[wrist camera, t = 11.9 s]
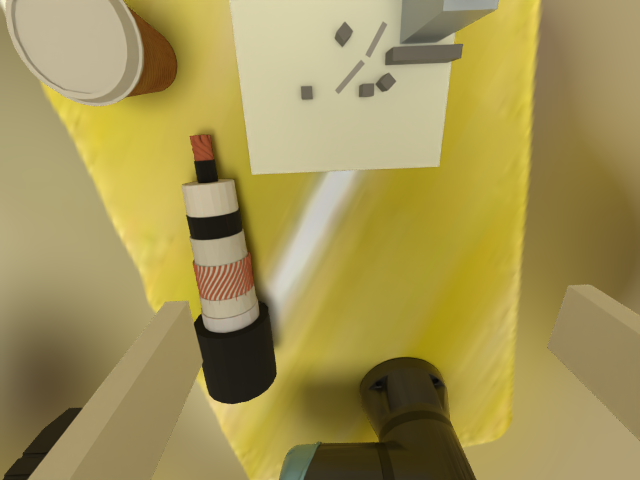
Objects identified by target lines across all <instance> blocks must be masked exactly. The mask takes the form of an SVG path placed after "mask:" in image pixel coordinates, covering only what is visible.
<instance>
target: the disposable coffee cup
mask: <svg viewBox="0 0 640 480" xmlns="http://www.w3.org/2000/svg"><path fill="white" fill-rule="evenodd" d="M6 20H7V27H8V31H9V34H10V36H11V39H12V42H13V45H14V47H15V48H16V50H17V52H18V54H19V56H20V58H21V59H22V60H23V62H24V63H25V64H26V66H27V67H28V68H29V69H30V71H31V72H32V73H33V74H34V75H35V76H36V77H37V78H38V79H39V80H41V81H42V82H43V83H44V84H46V85H47V86H49V87H50V88H52V89H53V90H55V91H57V92H58V93H60V94H61V95H63V96H64V97H66V98H68V99H71V100H73V101H75V102H78V103H81V104H84V105H91V106H105V105H110V104H113V103H116V102H119V101H120V100H122V99H124V98H125V97H130V96H136V95H141V94H147V93H152V92H159V91H162V90H165V89H166V88H168V87H169V86H170V85H171V84H172V82H173V81H174V79H175V76H176V72H177V61H176V57H175V53H174V51H173V49H172V47H171V45H170V44H169V42H168V41H167V40H166V39H165V38H164V37H163V36H162V35H161V34H160V33H158V32H157V31H156V30H155V29H154V28H152V27H151V26H150V25H149V24H148V23H146V22H145V21H144V20H143V19H142V18H141V17H139V16H138V15H137V14H136V13H135V12H133V11H132V10H131V9H130V8H129V7H128V6H127V5H126V3H125V2H124V1H123V0H6Z"/></svg>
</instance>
